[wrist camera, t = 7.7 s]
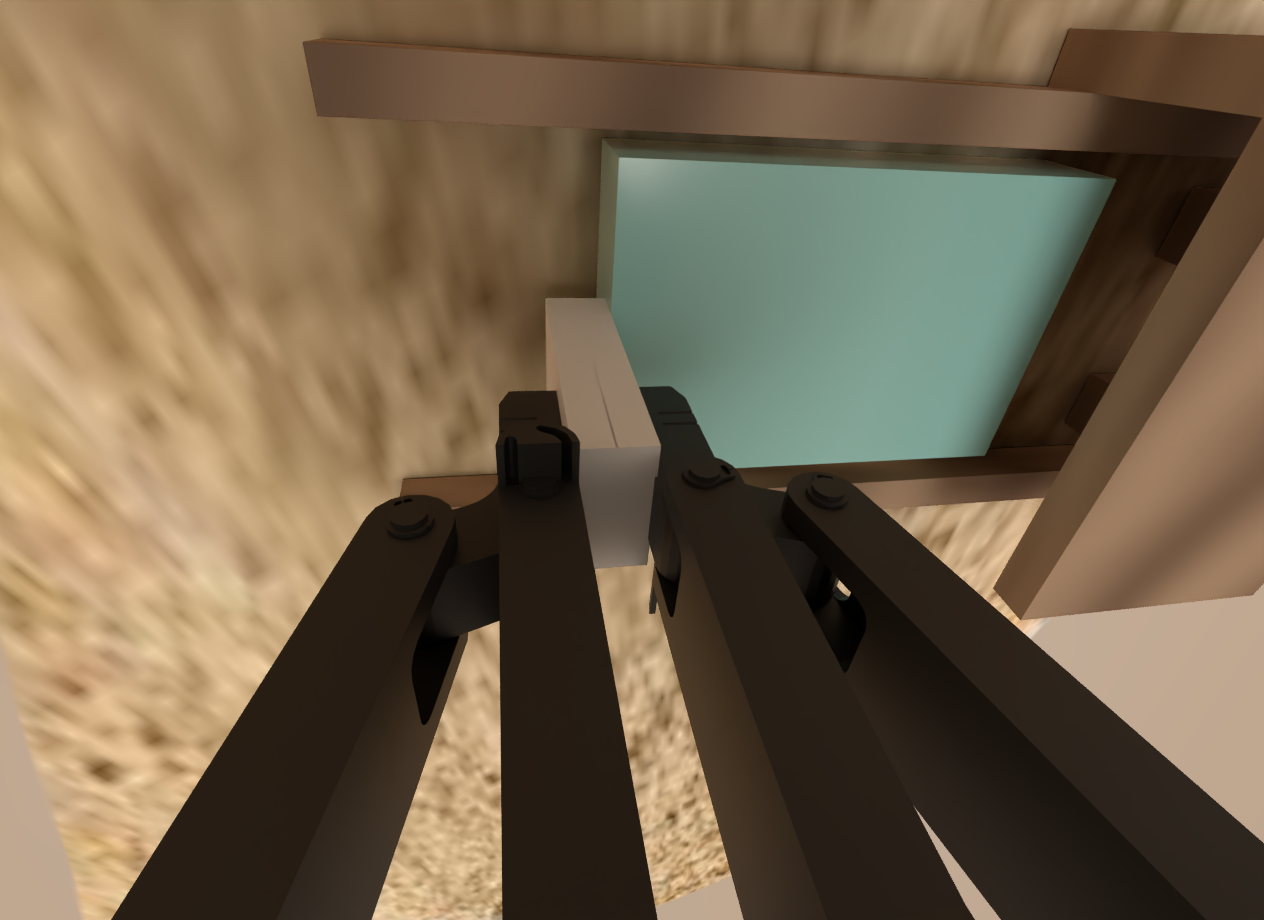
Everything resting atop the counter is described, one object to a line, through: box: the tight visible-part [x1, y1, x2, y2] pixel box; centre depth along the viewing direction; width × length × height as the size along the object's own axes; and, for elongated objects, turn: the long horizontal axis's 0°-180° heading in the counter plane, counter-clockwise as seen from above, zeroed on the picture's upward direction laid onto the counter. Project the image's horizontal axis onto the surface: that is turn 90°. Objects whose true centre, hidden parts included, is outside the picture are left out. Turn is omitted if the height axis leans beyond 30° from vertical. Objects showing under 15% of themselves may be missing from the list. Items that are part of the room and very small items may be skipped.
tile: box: [596, 138, 1117, 468], centre depth 17 cm, size 12×8×3 cm, turn 86°
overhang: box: [303, 29, 1264, 620], centre depth 15 cm, size 25×14×7 cm, turn 86°
